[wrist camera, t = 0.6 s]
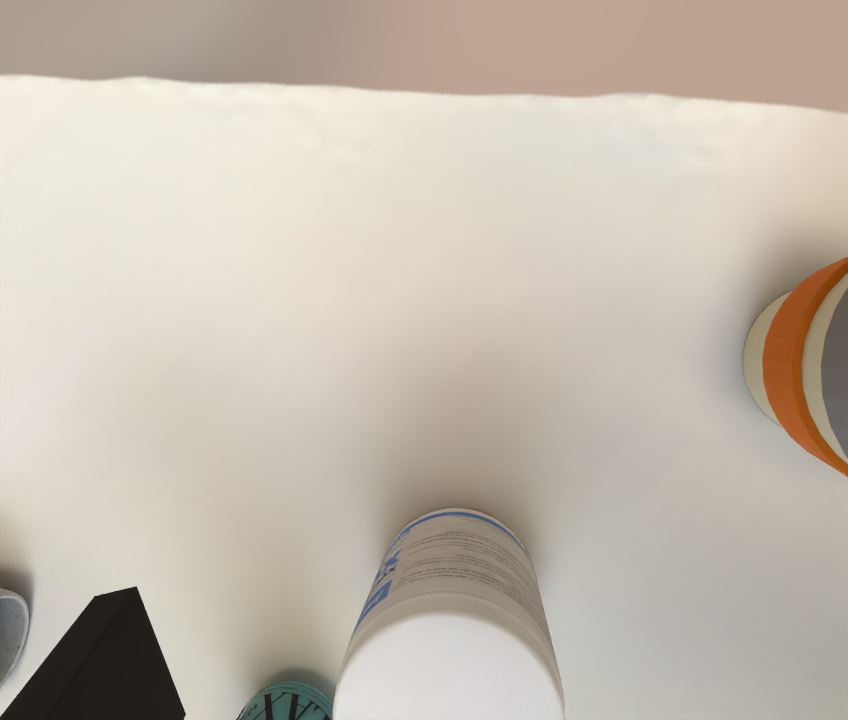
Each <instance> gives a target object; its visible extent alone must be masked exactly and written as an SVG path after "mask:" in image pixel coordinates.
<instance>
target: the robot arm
mask: <svg viewBox="0 0 848 720" xmlns="http://www.w3.org/2000/svg"><path fill="white" fill-rule="evenodd" d="M185 715H186V713H185V711H184V708H183V706H182V703H181V700H180V698H179V695H178V693H177V690H176V687H175V685H174V682H173V680H172V677H171V675H170V672H169V669H168V667H167V664H166V662H165V659H164V656H163V654H162V651H161V649H160V646H159V643H158V641H157V638H156V636H155V633H154V630H153V628H152V625H151V623H150V620H149V617H148V615H147V612H146V610H145V607H144V604H143V602H142V599H141V597H140V594H139V591H138V589H137V586H136V587H132V588H127V589H123V590H119V591H115V592H111V593H107V594H102V595H98V596H94V598H93V599H92V600H91V602H90V603H89V604H88V605H87V607H86V608H85V609H84V611H83V612H82V613H81V614H80V616H79V617H78V618H77V620H76V621H75V622H74V623H73V625H72V626H71V627H70V628H69V630H68V631H67V632H66V634H65V635H64V636H63V637H62V639H61V640H60V641H59V643H58V644H57V645H56V646H55V648H54V649H53V650H52V652H51V653H50V654H49V655H48V657H47V658H46V659H45V661H44V662H43V663H42V664H41V666H40V667H39V668H38V669H37V671H36V672H35V673H34V675H33V676H32V677H31V678H30V680H29V681H28V682H27V684H26V685H25V686H24V687H23V689H22V690H21V691H20V693H19V694H18V695H17V696H16V698H15V699H14V700H13V702H12V703H11V704H10V705H9V707H8V708H7V709H6V710H5V712H4V713H3V714H2V716H1V717H0V720H184V717H185Z"/></svg>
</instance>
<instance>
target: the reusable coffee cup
mask: <svg viewBox="0 0 848 720" xmlns="http://www.w3.org/2000/svg"><path fill="white" fill-rule="evenodd" d="M743 372H744V377H745V380H746V384H747V388H748V390H749V392H750V394H751V396H752V398H753V400H754V401H755V403H756V404H757V405H758V406H759V408H760V409H761V410H762V411H763V413H764V414H766V415H767V416H768V417H769V418H770V419H772V420H773V421H774V422H775V423H777V424H778V425H780V426H782V427H784V429H785V430H786V431H787V433H788V434H789V435H790V436H791V438H793V439H794V440H795V441H796V442H797V443H798V444H800V445H801V446H802V447H803V448H804V449H806V450H807V451H808V452H809V453H811V454H813V455H814V456H816V457H817V458H819V459H821V460H822V461H824V462H825V463H827V464H828V465H830V466H832V467H833V468H835V469H836V470H838V471H840V472H841V473H843V474H844V475H846V476H848V257H847V258H844V259H842V260H840V261H838V262H836V263H834V264H832V265H830V266H827V267H825V268H823V269H821V270H819V271H817V272H816V273H814V274H813V275H811V276H810V277H809V278H807V279H806V280H805V281H803V282H802V283H801V284H799V285H798V286H797V287H796V288H795V289H794V290H792V291H790V292H788V293H786V294H784V295H782V296H780V297H779V298H777V299H776V300H775V301H773V302H772V303H771V304H769V305H768V306H767V307H766V308H765V309H764V310H763V311H762V313H761V314H760V315H759V316H758V317H757V319H756V320H755V322H754V324H753V325H752V327H751V329H750V331H749V334H748V336H747V339H746V342H745V346H744V353H743Z"/></svg>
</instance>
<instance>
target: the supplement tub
mask: <svg viewBox="0 0 848 720" xmlns="http://www.w3.org/2000/svg"><path fill="white" fill-rule="evenodd" d="M333 720H565V716H564V695H563V690H562V685H561V679H560V674H559V670H558V666H557V662H556V657H555V653H554V649H553V645H552V641H551V637H550V633H549V629H548V625H547V621H546V617H545V613H544V608H543V604H542V600H541V596H540V592H539V588H538V584H537V579H536V575H535V572H534V569H533V566H532V562H531V560H530V558H529V555H528V553H527V551H526V550H525V548H524V546H523V545H522V543H521V542H520V540H519V539H518V538H517V536H516V535H515V534H514V533H513V532H512V531H511V530H510V529H509V528H507V527H506V526H505V525H504V524H502V523H501V522H500V521H498V520H497V519H495V518H493V517H491V516H489V515H487V514H484V513H481V512H478V511H475V510H470V509H464V508H448V509H441V510H437V511H433V512H430V513H428V514H425V515H423V516H421V517H419V518H417V519H415V520H414V521H412V522H411V523H409V524H408V525H407V526H406V527H405V528H403V529H402V530H401V531H400V533H399V534H398V535H397V536H396V537H395V539H394V540H393V541H392V543H391V544H390V546H389V548H388V550H387V552H386V554H385V557H384V559H383V561H382V563H381V566H380V568H379V571H378V573H377V575H376V578H375V580H374V583H373V585H372V588H371V590H370V593H369V595H368V598H367V600H366V602H365V605H364V607H363V610H362V612H361V615H360V617H359V620H358V622H357V625H356V627H355V630H354V632H353V634H352V637H351V639H350V642H349V645H348V648H347V650H346V653H345V656H344V659H343V661H342V664H341V667H340V671H339V675H338V680H337V688H336V692H335V697H334V703H333Z"/></svg>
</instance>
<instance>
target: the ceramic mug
mask: <svg viewBox="0 0 848 720" xmlns="http://www.w3.org/2000/svg"><path fill="white" fill-rule="evenodd" d="M28 626H29V609H28V606H27V604H26V602H25V600H24V598H23V597H22V596H20V595H19V594H17V593H15V592H13V591H9V590H5V589H1V588H0V687H1V686H2V685H3V683H4V682H5V680H6V679H7V677H8V676H9V675H10V673H11V671H12V669H13V667H14V666H15V664H16V662H17V660H18V658H19V656H20V654H21V651H22V649H23V646H24V643H25V639H26V636H27V632H28Z"/></svg>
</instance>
